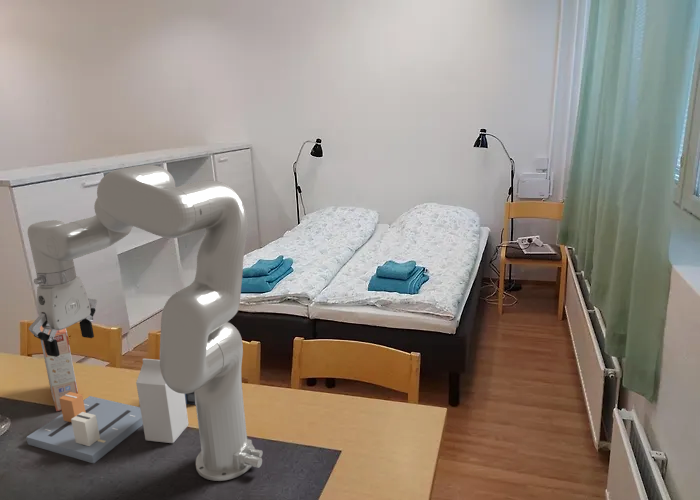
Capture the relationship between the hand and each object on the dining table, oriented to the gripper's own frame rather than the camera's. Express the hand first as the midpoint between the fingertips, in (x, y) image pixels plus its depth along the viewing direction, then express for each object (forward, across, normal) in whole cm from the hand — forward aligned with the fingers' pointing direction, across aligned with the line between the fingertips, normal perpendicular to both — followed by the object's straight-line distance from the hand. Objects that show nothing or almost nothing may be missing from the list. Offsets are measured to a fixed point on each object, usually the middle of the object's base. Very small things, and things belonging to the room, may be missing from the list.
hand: (71, 346), depth 120 cm
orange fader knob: (+19, -2, +2) cm, 19 cm away
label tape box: (+21, +16, -16) cm, 31 cm away
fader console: (+21, -2, -3) cm, 21 cm away
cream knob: (+19, -7, -8) cm, 22 cm away
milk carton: (+21, +3, -21) cm, 30 cm away
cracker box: (+21, +8, +16) cm, 27 cm away
